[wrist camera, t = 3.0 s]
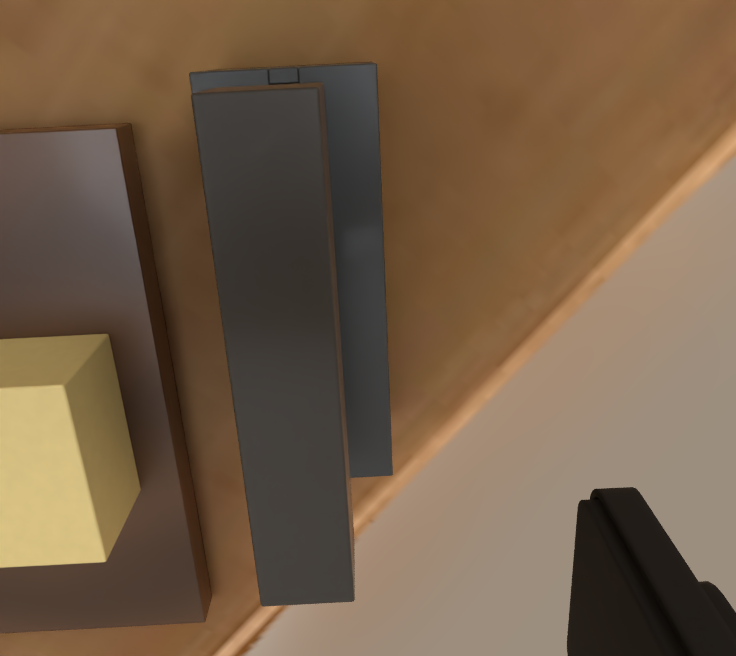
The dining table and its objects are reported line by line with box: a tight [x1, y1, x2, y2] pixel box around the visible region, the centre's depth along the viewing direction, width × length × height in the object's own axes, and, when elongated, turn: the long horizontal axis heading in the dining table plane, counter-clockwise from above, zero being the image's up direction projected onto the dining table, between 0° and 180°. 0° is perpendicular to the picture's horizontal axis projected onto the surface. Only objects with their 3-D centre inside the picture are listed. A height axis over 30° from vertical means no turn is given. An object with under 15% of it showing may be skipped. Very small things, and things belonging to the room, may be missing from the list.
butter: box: [0, 334, 141, 568], centre depth 23 cm, size 6×7×4 cm
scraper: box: [191, 82, 355, 606], centre depth 19 cm, size 12×2×10 cm, turn 3°
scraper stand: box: [189, 62, 393, 478], centre depth 22 cm, size 13×5×4 cm, turn 3°
